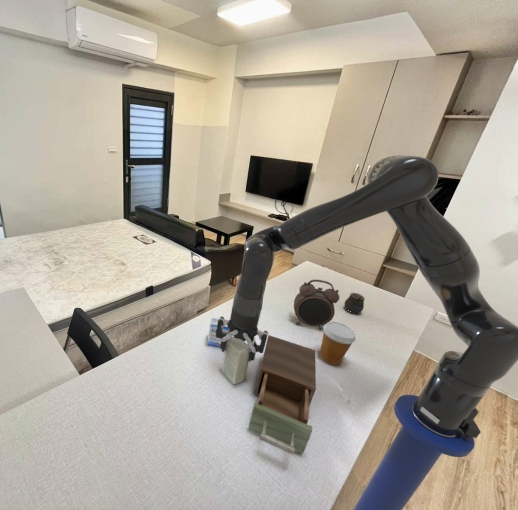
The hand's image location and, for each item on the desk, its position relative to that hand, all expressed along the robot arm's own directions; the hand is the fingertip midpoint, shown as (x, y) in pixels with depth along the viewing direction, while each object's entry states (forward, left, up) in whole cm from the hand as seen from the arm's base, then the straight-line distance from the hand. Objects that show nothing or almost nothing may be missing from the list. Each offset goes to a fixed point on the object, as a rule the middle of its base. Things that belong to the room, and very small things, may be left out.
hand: (236, 354), depth 80 cm
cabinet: (-14, -4, -8) cm, 17 cm away
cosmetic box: (0, 0, -8) cm, 8 cm away
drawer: (-14, +11, -7) cm, 19 cm away
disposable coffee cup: (-28, -24, -8) cm, 38 cm away
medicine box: (+8, -12, -8) cm, 17 cm away
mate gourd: (-39, -63, -8) cm, 75 cm away
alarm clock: (-21, -41, -8) cm, 47 cm away
